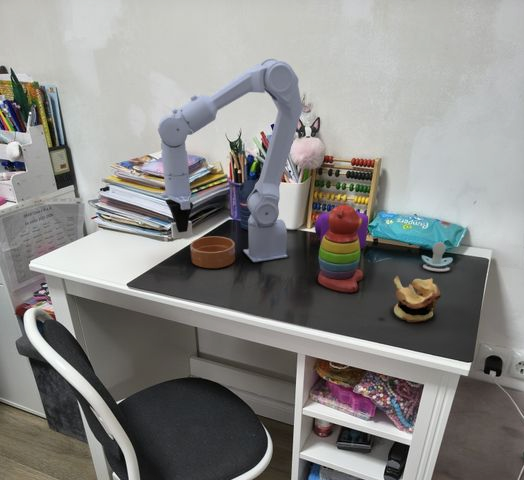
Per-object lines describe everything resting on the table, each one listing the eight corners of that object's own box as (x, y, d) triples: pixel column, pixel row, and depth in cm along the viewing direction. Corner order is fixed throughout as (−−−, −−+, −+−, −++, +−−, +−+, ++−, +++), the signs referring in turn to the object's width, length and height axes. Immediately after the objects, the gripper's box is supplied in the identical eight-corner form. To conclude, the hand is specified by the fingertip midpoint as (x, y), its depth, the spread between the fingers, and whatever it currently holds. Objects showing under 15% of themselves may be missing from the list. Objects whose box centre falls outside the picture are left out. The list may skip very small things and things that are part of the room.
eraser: (172, 237, 122) (170, 222, 120) (191, 235, 123) (190, 220, 121) (173, 239, 121) (171, 224, 119) (192, 236, 123) (191, 222, 120)
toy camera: (325, 235, 141) (328, 200, 136) (369, 246, 135) (374, 209, 129) (305, 247, 134) (307, 210, 128) (350, 259, 127) (355, 221, 122)
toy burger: (429, 331, 97) (438, 293, 93) (381, 320, 101) (386, 283, 97) (441, 305, 106) (449, 270, 102) (396, 296, 110) (401, 261, 105)
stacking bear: (355, 294, 111) (364, 216, 101) (311, 287, 114) (316, 210, 104) (364, 275, 119) (373, 201, 109) (323, 269, 122) (328, 196, 112)
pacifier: (451, 275, 120) (450, 264, 125) (457, 250, 116) (455, 240, 121) (420, 272, 121) (419, 261, 126) (425, 248, 117) (424, 238, 122)
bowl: (227, 250, 132) (226, 234, 130) (241, 266, 124) (240, 249, 121) (187, 256, 129) (185, 239, 126) (198, 272, 120) (196, 255, 118)
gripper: (152, 167, 118) (159, 222, 126) (165, 182, 107) (172, 242, 114) (182, 164, 120) (186, 219, 128) (197, 179, 109) (201, 238, 117)
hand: (181, 230), depth 121 cm, fingers closed on eraser, 1 cm apart
